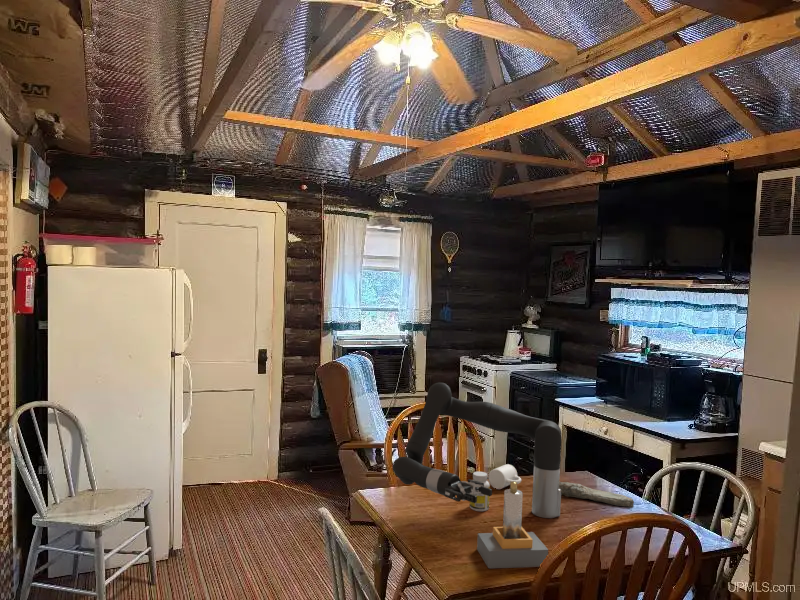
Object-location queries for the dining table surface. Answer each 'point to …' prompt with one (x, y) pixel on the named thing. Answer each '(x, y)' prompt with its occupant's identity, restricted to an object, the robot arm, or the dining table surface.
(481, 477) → the supplement bottle
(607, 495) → the elongated rock
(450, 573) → the dining table surface
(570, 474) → the dining table surface
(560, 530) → the dining table surface
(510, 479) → the mug
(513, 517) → the gold capped bottle
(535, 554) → the grey base with frame
